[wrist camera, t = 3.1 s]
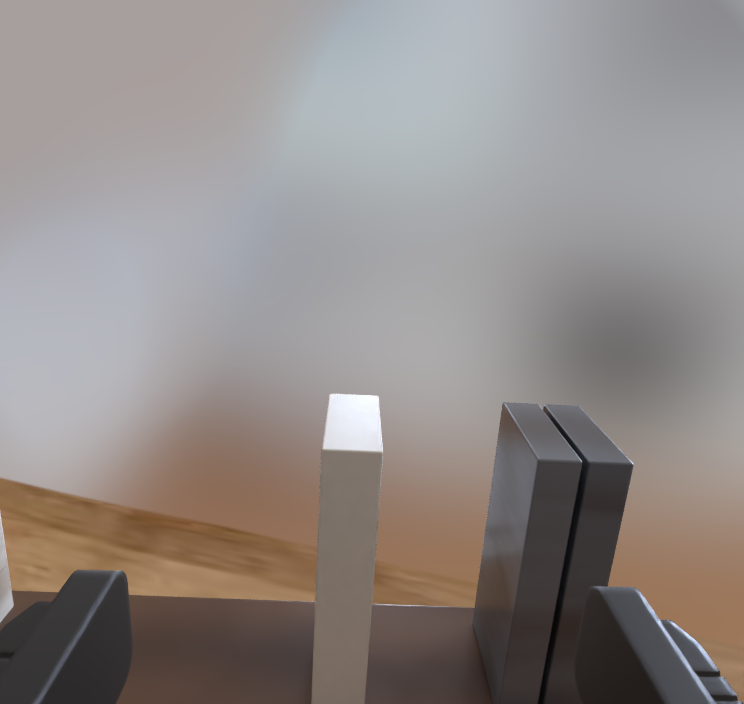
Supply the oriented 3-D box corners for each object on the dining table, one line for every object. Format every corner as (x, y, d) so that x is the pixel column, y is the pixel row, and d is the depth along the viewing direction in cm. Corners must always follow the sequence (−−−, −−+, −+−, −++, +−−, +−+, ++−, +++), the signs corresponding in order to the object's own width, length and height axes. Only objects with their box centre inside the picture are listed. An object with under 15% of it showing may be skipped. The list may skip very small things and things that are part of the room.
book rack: (591, 766, 22) (657, 480, 18) (-159, 747, 21) (-244, 439, 17) (536, 626, 28) (577, 396, 25) (-32, 606, 27) (-74, 363, 24)
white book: (363, 715, 22) (383, 452, 19) (310, 714, 22) (321, 449, 19) (363, 618, 27) (378, 395, 24) (319, 616, 27) (329, 392, 23)
